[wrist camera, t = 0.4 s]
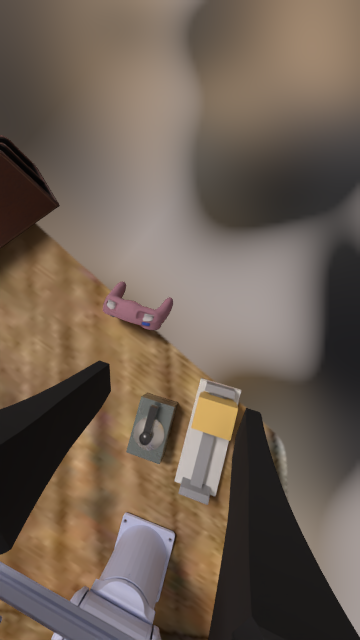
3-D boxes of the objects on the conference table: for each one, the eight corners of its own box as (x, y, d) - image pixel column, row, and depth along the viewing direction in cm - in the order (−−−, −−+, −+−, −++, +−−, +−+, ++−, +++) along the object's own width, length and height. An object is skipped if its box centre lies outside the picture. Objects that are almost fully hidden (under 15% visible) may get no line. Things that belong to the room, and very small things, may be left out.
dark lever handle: (152, 442, 34) (148, 447, 32) (141, 438, 34) (137, 443, 32) (161, 406, 34) (158, 409, 32) (150, 403, 34) (147, 405, 33)
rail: (215, 492, 35) (215, 507, 32) (175, 477, 36) (171, 490, 33) (240, 389, 36) (242, 394, 33) (201, 378, 37) (199, 381, 34)
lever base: (164, 454, 37) (158, 465, 34) (133, 443, 38) (125, 453, 34) (177, 402, 37) (174, 407, 34) (147, 392, 38) (140, 396, 35)
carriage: (228, 428, 35) (230, 441, 30) (194, 417, 36) (190, 427, 31) (235, 400, 35) (238, 408, 30) (201, 390, 36) (198, 396, 31)
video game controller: (117, 304, 42) (93, 317, 36) (121, 279, 40) (96, 287, 34) (170, 323, 40) (154, 339, 34) (177, 297, 39) (161, 310, 32)
